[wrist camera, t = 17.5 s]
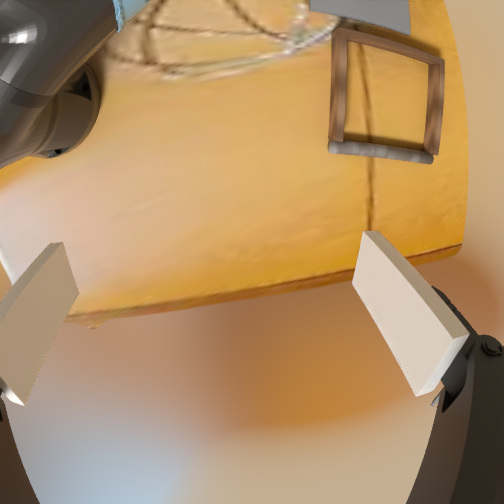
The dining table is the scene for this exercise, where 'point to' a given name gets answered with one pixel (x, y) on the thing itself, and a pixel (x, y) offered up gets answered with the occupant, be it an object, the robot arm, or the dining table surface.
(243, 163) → the dining table surface
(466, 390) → the robot arm
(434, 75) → the walnut holder
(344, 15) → the slate pad
